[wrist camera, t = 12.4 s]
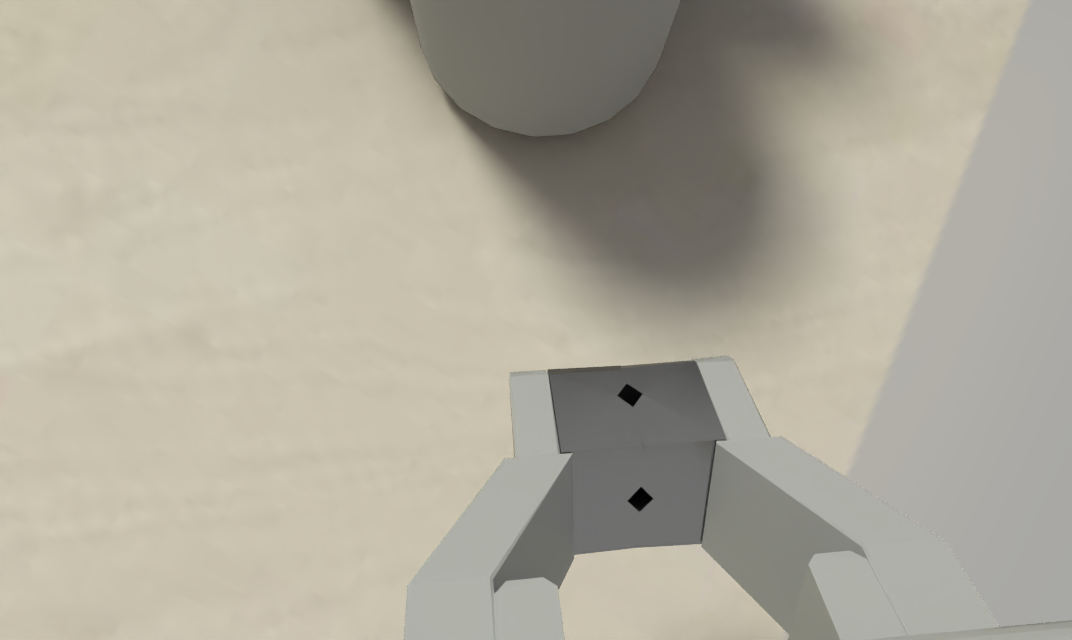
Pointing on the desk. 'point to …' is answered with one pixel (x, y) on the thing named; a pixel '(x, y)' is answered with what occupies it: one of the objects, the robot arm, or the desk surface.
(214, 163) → the desk surface
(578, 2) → the can
